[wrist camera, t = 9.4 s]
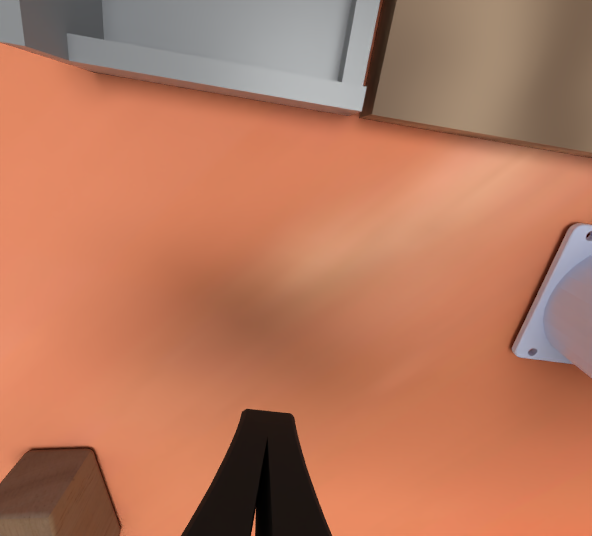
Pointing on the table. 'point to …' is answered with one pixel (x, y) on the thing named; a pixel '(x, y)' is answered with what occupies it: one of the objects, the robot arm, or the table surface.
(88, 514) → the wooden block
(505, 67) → the walnut board
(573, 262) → the robot arm
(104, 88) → the table surface
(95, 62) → the gray box
